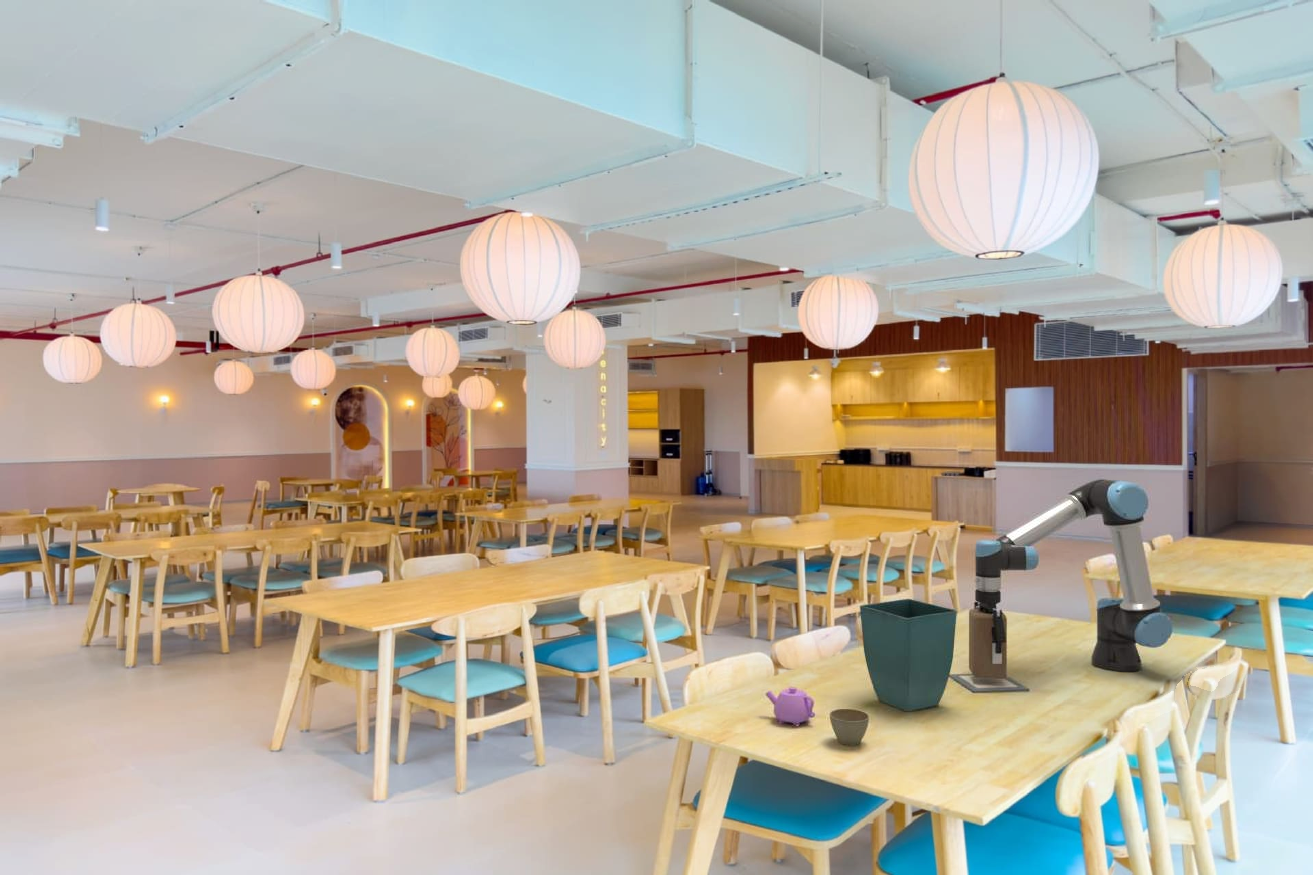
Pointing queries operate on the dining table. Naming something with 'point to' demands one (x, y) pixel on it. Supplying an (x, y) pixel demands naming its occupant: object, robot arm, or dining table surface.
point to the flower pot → (908, 651)
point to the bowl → (849, 725)
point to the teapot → (792, 705)
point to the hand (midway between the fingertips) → (987, 658)
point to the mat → (987, 684)
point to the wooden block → (985, 646)
